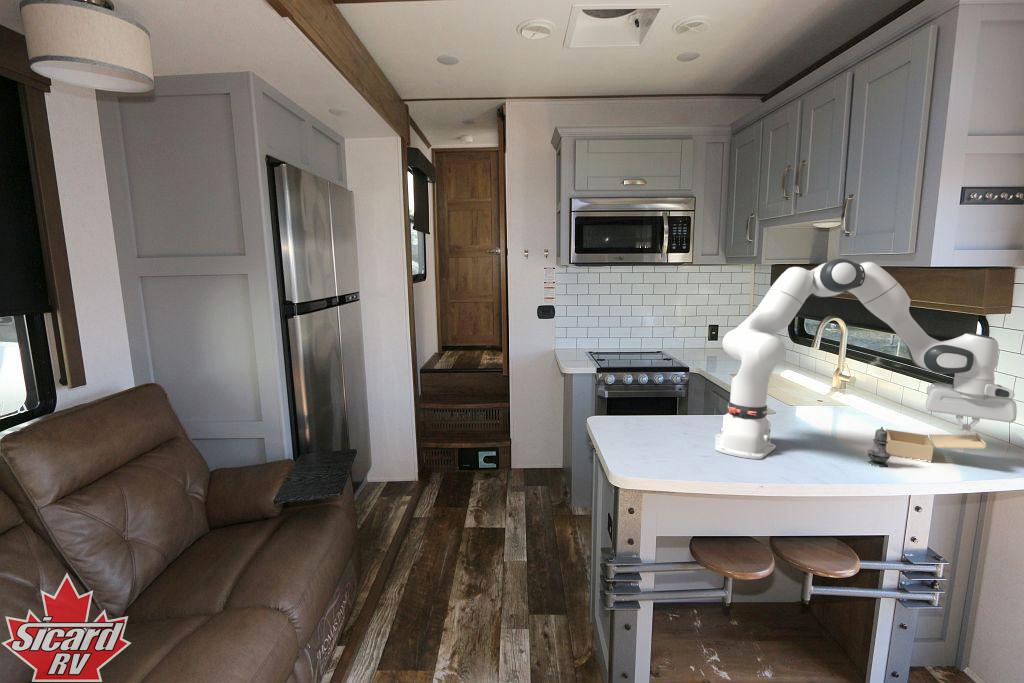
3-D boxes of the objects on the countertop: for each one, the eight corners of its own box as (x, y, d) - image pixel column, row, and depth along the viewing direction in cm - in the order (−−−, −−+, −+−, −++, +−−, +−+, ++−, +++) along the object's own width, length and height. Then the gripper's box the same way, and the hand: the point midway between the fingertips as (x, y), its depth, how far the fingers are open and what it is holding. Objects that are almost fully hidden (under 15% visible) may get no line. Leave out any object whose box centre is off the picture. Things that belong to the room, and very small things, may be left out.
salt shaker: (884, 469, 145) (889, 430, 143) (862, 462, 150) (866, 425, 148) (893, 465, 148) (897, 427, 146) (870, 459, 153) (875, 422, 151)
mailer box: (931, 462, 150) (933, 446, 150) (887, 454, 157) (888, 439, 156) (925, 449, 162) (927, 434, 161) (884, 442, 168) (885, 428, 167)
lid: (935, 443, 149) (935, 448, 149) (986, 444, 143) (987, 448, 143) (928, 431, 161) (929, 436, 161) (975, 432, 154) (976, 436, 154)
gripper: (929, 383, 150) (923, 426, 152) (1022, 394, 139) (1014, 440, 141) (926, 380, 155) (920, 421, 157) (1016, 390, 144) (1008, 434, 146)
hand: (965, 430), depth 149 cm, fingers closed
